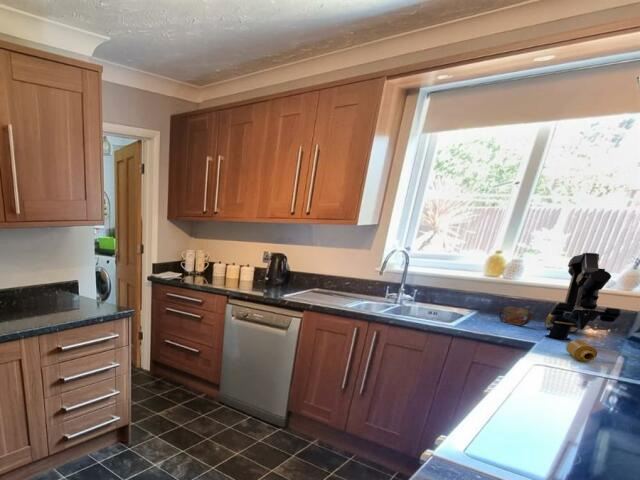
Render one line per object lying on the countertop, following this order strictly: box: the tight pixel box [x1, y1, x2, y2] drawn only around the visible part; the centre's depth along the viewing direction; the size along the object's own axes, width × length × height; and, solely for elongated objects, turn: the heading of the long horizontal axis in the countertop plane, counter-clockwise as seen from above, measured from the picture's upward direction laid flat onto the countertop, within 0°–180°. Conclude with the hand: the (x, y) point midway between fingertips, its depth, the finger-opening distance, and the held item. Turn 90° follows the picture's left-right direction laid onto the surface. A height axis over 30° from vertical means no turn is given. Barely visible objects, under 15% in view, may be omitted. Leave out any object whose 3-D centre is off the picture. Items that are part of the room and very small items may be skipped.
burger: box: [544, 312, 580, 333], centre depth 208 cm, size 13×14×10 cm
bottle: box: [565, 339, 598, 363], centre depth 162 cm, size 6×6×15 cm
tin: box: [498, 305, 533, 326], centre depth 218 cm, size 15×3×8 cm, turn 6°
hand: (581, 329), depth 168 cm, fingers closed
